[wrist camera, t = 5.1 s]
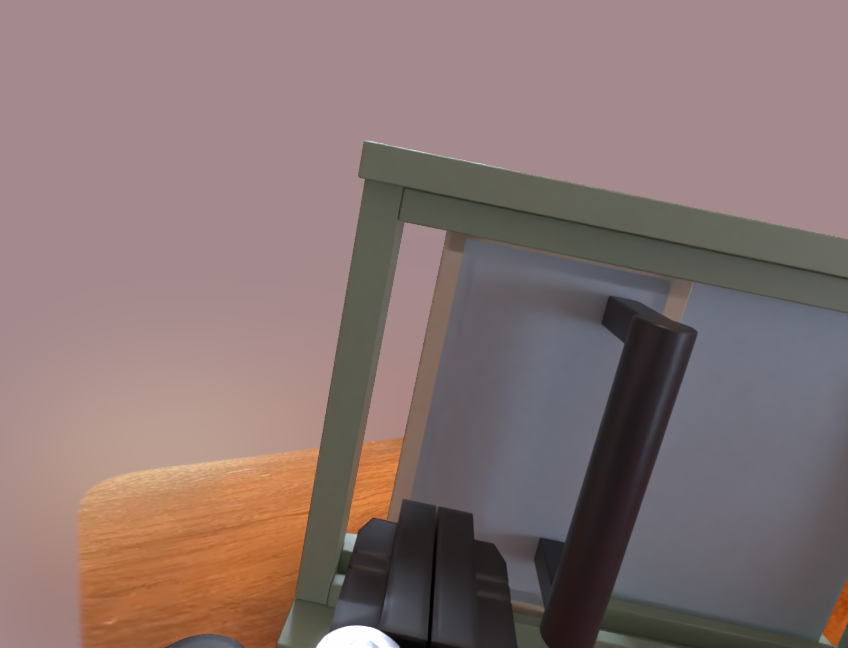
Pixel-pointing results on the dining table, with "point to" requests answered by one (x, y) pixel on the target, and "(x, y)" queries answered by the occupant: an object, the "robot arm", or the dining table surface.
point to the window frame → (690, 420)
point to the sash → (545, 416)
